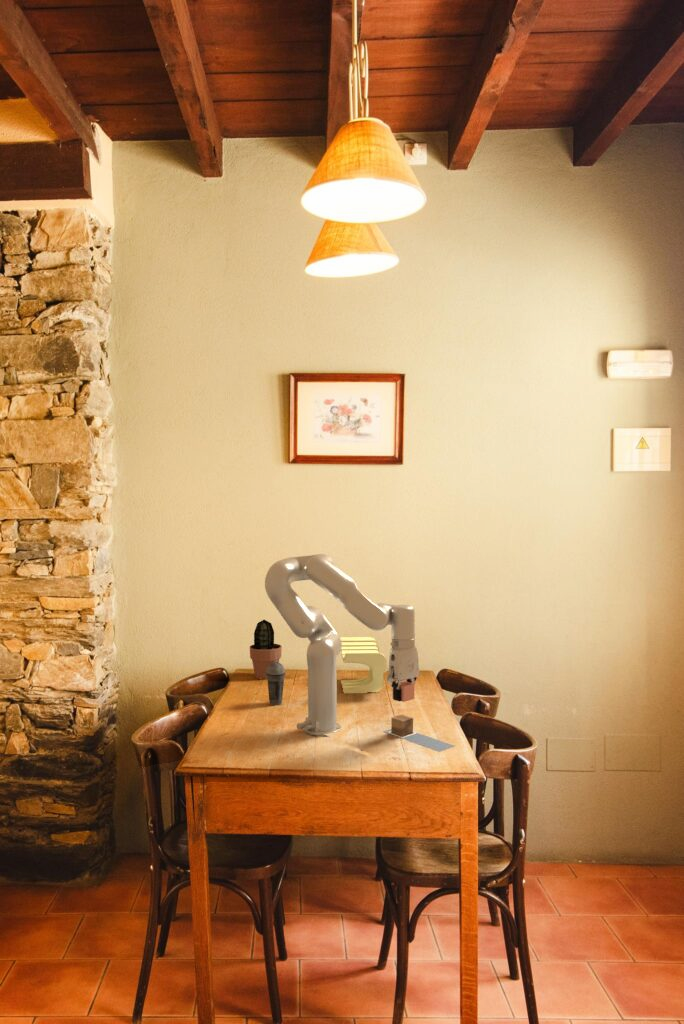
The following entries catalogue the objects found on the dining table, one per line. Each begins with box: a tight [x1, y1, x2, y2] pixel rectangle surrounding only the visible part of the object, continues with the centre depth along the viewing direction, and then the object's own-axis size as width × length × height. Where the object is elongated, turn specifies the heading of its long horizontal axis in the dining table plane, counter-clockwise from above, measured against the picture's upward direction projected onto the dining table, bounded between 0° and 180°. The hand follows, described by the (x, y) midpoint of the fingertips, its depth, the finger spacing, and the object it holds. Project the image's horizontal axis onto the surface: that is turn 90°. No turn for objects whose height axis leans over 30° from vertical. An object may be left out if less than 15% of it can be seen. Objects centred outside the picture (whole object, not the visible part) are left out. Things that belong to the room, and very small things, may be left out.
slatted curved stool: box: [339, 636, 388, 694], centre depth 291 cm, size 30×16×18 cm, turn 4°
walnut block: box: [390, 714, 414, 737], centre depth 235 cm, size 5×5×5 cm
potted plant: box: [249, 619, 283, 680], centre depth 307 cm, size 14×14×25 cm
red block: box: [396, 680, 415, 703], centre depth 234 cm, size 5×5×5 cm
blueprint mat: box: [383, 729, 455, 753], centre depth 229 cm, size 8×24×1 cm, turn 42°
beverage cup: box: [266, 651, 286, 706], centre depth 269 cm, size 7×7×20 cm
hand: (403, 698), depth 234 cm, fingers closed on red block, 4 cm apart
